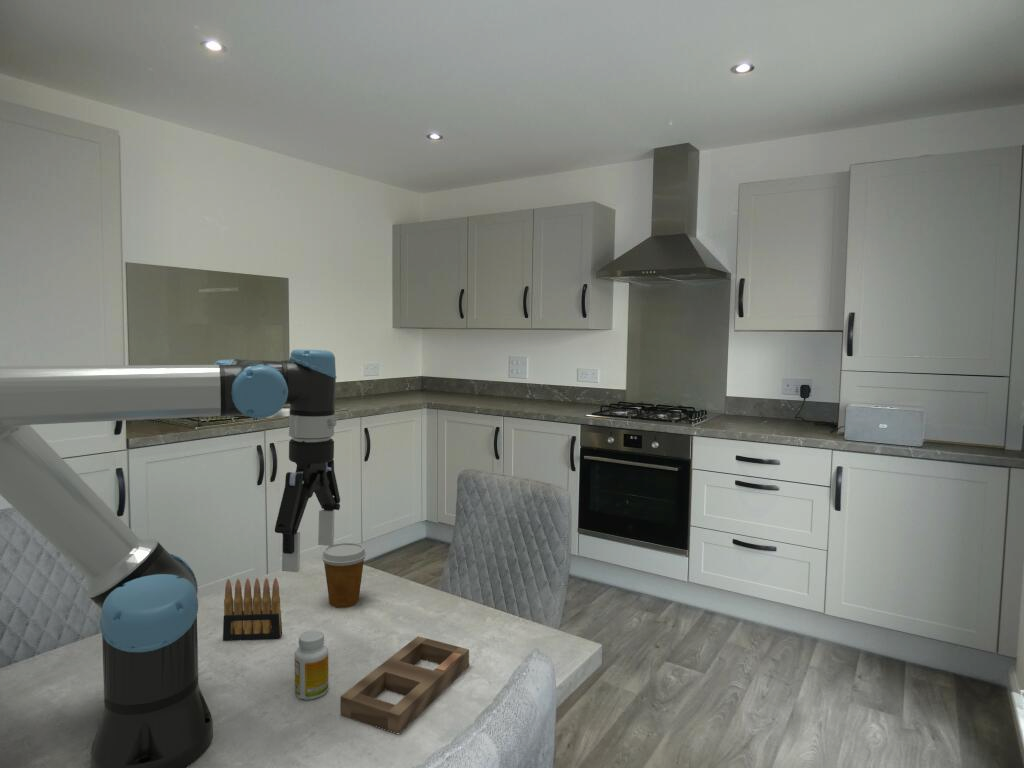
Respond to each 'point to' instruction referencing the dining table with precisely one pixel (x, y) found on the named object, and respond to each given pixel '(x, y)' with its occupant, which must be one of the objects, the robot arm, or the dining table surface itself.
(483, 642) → the dining table surface
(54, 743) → the dining table surface
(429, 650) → the rack
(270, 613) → the ammunition clip
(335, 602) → the disposable coffee cup
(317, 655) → the supplement bottle
